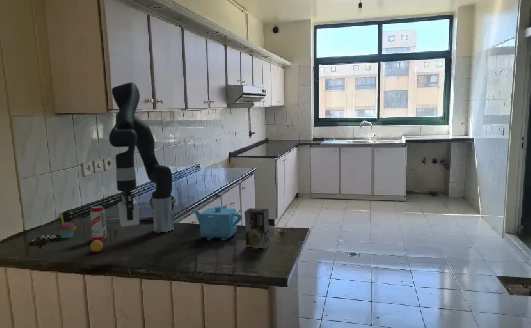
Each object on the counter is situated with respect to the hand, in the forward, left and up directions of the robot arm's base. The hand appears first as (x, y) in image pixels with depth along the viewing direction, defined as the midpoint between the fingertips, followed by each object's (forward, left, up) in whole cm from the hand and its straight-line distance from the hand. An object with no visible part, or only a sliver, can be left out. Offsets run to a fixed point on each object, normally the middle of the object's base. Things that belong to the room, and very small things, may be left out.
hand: (128, 218), depth 164 cm
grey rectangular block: (0, 0, -2) cm, 2 cm away
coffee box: (-50, +17, -16) cm, 56 cm away
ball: (+13, -12, -13) cm, 22 cm away
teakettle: (-39, -5, -16) cm, 43 cm away
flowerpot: (-25, -59, -16) cm, 66 cm away
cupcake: (+25, -44, -16) cm, 53 cm away
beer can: (+11, -30, -16) cm, 36 cm away
